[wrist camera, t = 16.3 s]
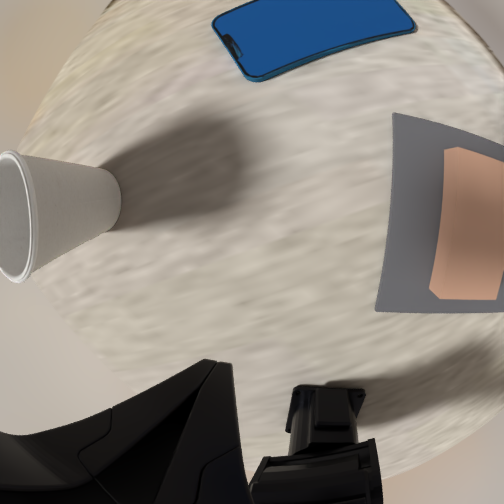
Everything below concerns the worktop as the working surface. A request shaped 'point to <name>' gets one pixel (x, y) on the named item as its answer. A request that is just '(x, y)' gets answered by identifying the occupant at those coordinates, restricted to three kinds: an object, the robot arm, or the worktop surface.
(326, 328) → the worktop surface
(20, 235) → the dixie cup
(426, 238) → the mat
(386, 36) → the smartphone
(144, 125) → the worktop surface
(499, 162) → the block
